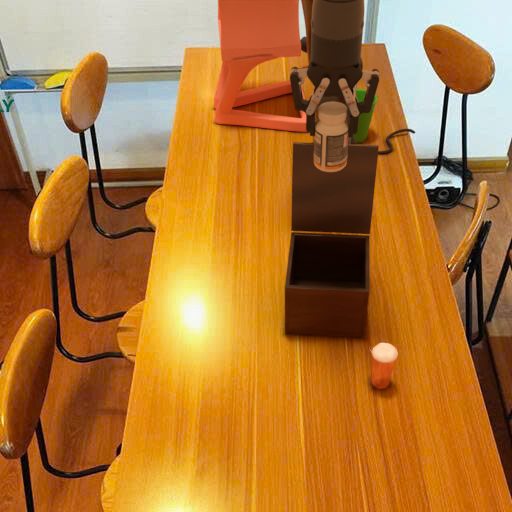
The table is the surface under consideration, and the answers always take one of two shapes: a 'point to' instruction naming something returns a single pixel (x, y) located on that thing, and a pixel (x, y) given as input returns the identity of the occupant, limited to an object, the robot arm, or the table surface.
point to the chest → (327, 285)
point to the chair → (255, 58)
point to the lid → (333, 191)
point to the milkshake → (383, 364)
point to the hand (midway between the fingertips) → (331, 133)
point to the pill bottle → (331, 137)
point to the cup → (363, 117)
